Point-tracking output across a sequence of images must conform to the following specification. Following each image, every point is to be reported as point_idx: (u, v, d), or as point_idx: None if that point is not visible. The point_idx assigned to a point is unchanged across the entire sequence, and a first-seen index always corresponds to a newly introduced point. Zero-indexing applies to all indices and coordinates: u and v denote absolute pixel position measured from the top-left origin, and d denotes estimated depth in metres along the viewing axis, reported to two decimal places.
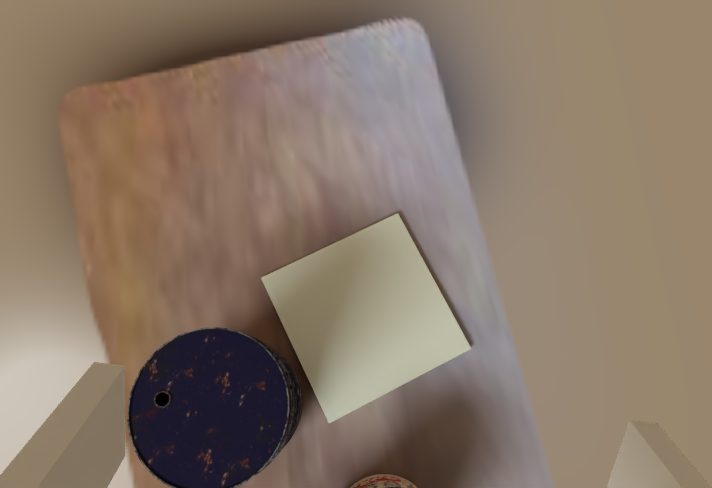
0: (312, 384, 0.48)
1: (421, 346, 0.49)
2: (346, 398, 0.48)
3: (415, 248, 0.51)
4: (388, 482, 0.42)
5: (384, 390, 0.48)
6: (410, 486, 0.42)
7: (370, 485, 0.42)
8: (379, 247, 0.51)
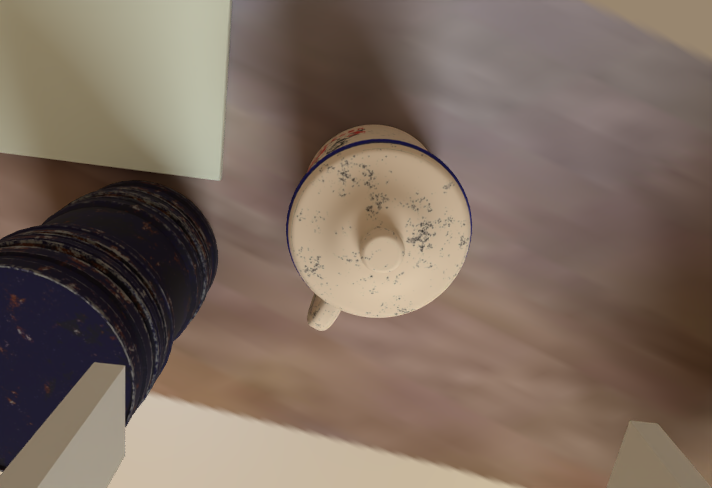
0: (162, 171, 0.34)
1: None
2: (201, 142, 0.33)
3: None
4: None
5: (220, 89, 0.32)
6: (333, 145, 0.30)
7: None
8: None
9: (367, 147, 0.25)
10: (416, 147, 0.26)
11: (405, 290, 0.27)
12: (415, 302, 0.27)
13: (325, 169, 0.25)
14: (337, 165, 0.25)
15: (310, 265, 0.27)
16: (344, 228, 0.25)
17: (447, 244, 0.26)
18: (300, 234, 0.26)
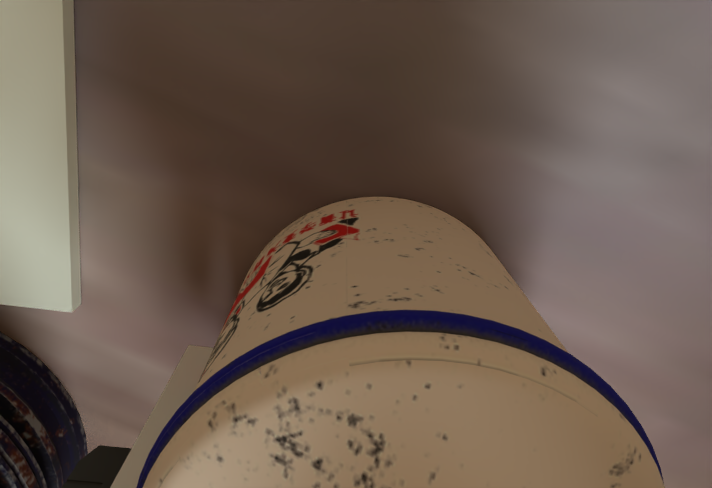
0: None
1: None
2: (26, 236, 0.16)
3: None
4: (222, 332, 0.12)
5: (55, 126, 0.15)
6: (280, 271, 0.12)
7: None
8: None
9: (364, 353, 0.08)
10: (520, 337, 0.08)
11: None
12: None
13: (226, 422, 0.08)
14: (264, 413, 0.08)
15: None
16: None
17: None
18: None
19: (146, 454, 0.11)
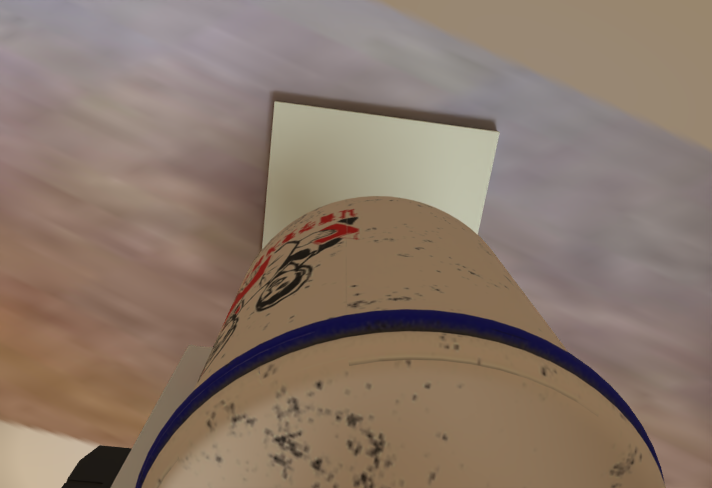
0: None
1: (454, 188, 0.36)
2: None
3: (335, 112, 0.34)
4: (222, 331, 0.12)
5: None
6: (280, 271, 0.12)
7: None
8: (305, 156, 0.35)
9: (363, 352, 0.08)
10: (520, 337, 0.08)
11: None
12: None
13: (225, 422, 0.08)
14: (263, 413, 0.08)
15: None
16: None
17: None
18: None
19: (146, 454, 0.11)
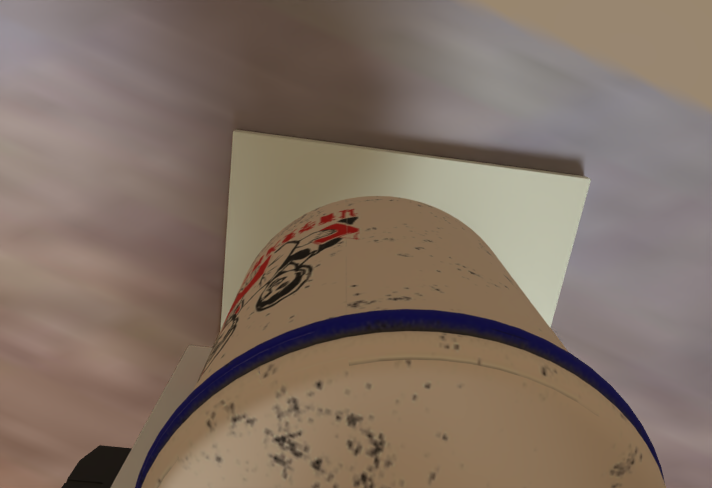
0: None
1: (515, 264, 0.23)
2: None
3: (331, 148, 0.21)
4: (221, 331, 0.12)
5: None
6: (280, 270, 0.12)
7: None
8: (283, 216, 0.22)
9: (363, 352, 0.08)
10: (520, 337, 0.08)
11: None
12: None
13: (225, 422, 0.08)
14: (263, 413, 0.08)
15: None
16: None
17: None
18: None
19: (146, 454, 0.11)
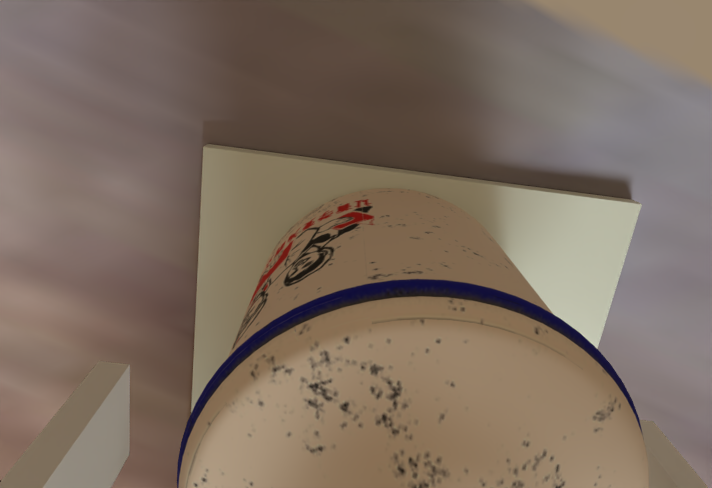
0: None
1: (547, 305, 0.19)
2: None
3: (324, 166, 0.17)
4: (251, 306, 0.13)
5: None
6: (303, 252, 0.13)
7: None
8: (266, 249, 0.18)
9: (384, 313, 0.09)
10: (517, 303, 0.09)
11: None
12: None
13: (266, 372, 0.09)
14: (299, 364, 0.09)
15: None
16: None
17: None
18: None
19: None
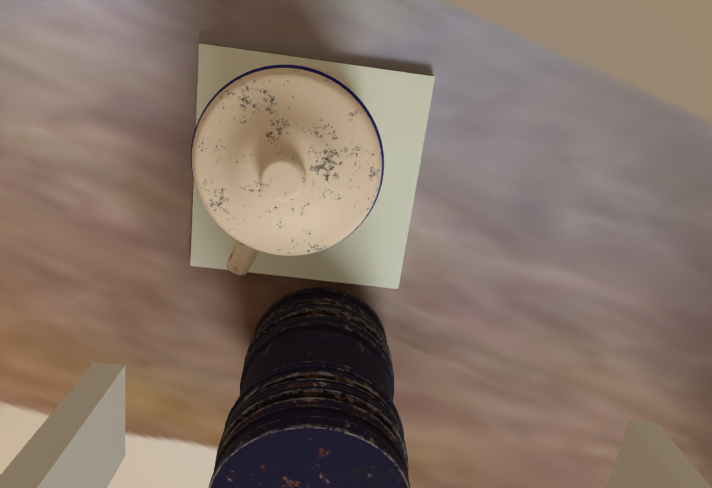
0: (347, 281, 0.38)
1: (390, 136, 0.34)
2: (385, 256, 0.37)
3: (263, 54, 0.33)
4: None
5: (407, 212, 0.36)
6: None
7: None
8: None
9: (268, 72, 0.24)
10: (321, 73, 0.25)
11: (314, 224, 0.26)
12: (327, 238, 0.27)
13: (225, 95, 0.24)
14: (237, 91, 0.24)
15: (215, 199, 0.26)
16: (245, 156, 0.24)
17: (356, 175, 0.25)
18: (203, 165, 0.25)
19: None
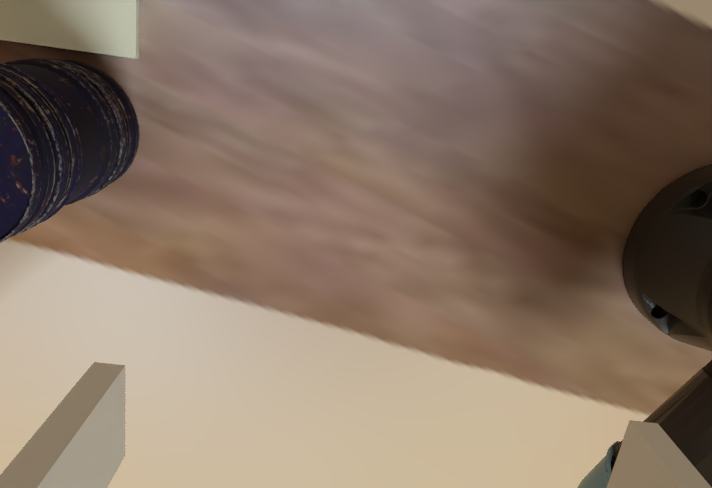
0: (86, 49, 0.40)
1: None
2: (119, 23, 0.39)
3: None
4: None
5: None
6: None
7: None
8: None
9: None
10: None
11: None
12: None
13: None
14: None
15: None
16: None
17: None
18: None
19: None
